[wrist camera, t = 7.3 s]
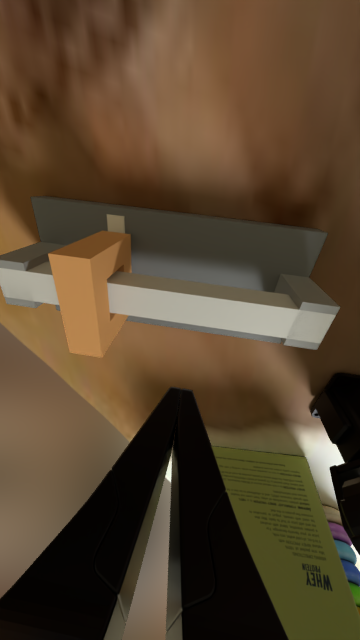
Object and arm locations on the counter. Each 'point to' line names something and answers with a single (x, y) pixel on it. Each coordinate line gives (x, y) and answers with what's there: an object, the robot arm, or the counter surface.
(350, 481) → the robot arm
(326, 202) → the counter surface
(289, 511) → the protein box
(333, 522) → the stacking toy
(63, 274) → the collar
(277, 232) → the pipe rig
